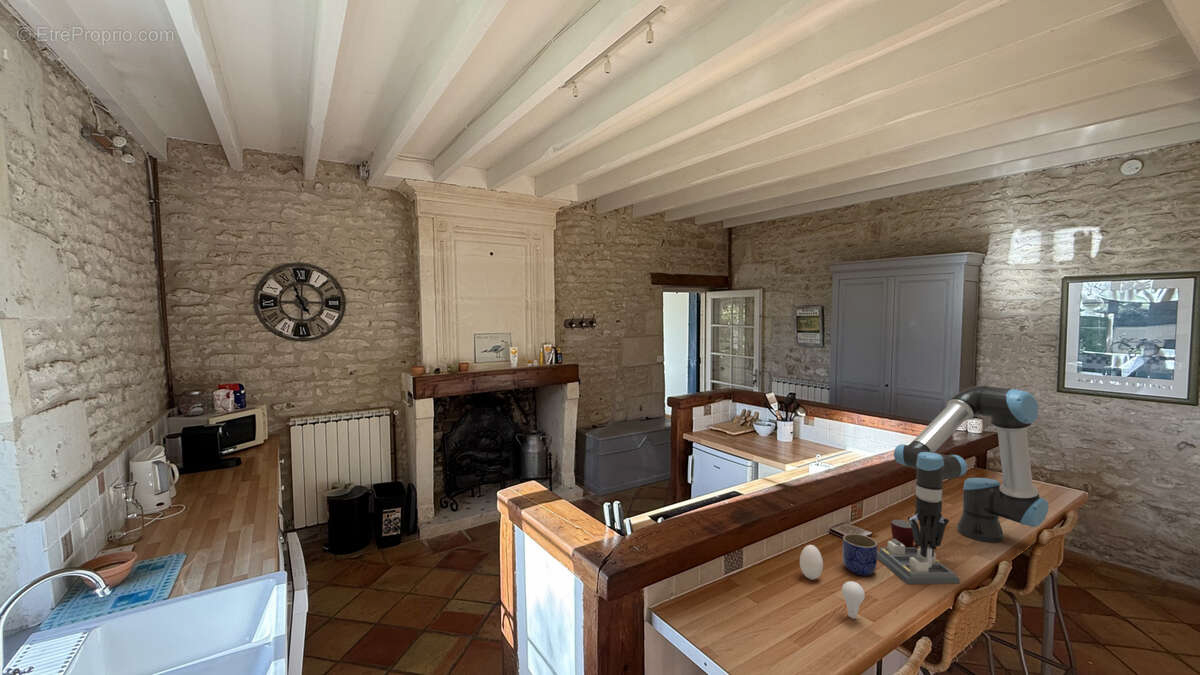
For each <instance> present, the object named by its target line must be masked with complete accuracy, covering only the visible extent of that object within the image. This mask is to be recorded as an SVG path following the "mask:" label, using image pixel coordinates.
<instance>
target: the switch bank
mask: <svg viewBox="0 0 1200 675" xmlns="http://www.w3.org/2000/svg"><path fill="white" fill-rule="evenodd" d="M917 549H921V547H920V546H918V547H905V555H891V554H890V553H889V552H888V551H887V550H888V547H879V551H877V560H878V561H879V562H880V563H882V564H883V565H885V566H886V568H888V569H889V570H890V571H891V572H892V573H894V575H896V576H897V577H898V578H899V579H900V580H901V581H902V582H904V583H905V584H906V585H917V584H918V585H920V584H922V585H923V584H929V585H931V584H935V585H936V584H941V585H942V584H960V577H959V576H958V575H956V573H955V572H954V571H952V570H951V569H950V568H948V567H947V566H945V564H942V563H941V561H940V560H938V559H937V558H936V563H932V567H929V569H928V573H913V572H912V571H911V570H910V569H909V558H910V557H914V555H917Z"/></svg>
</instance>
